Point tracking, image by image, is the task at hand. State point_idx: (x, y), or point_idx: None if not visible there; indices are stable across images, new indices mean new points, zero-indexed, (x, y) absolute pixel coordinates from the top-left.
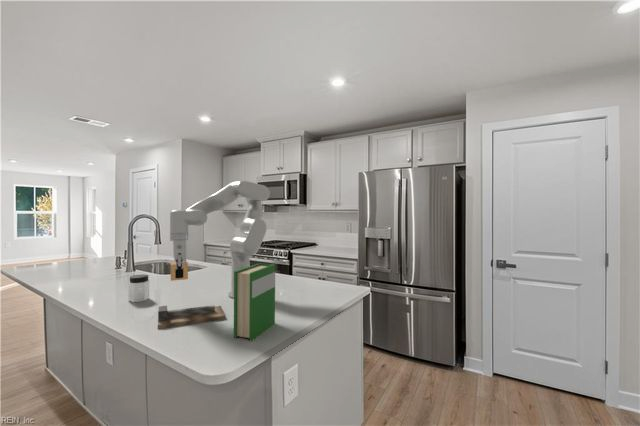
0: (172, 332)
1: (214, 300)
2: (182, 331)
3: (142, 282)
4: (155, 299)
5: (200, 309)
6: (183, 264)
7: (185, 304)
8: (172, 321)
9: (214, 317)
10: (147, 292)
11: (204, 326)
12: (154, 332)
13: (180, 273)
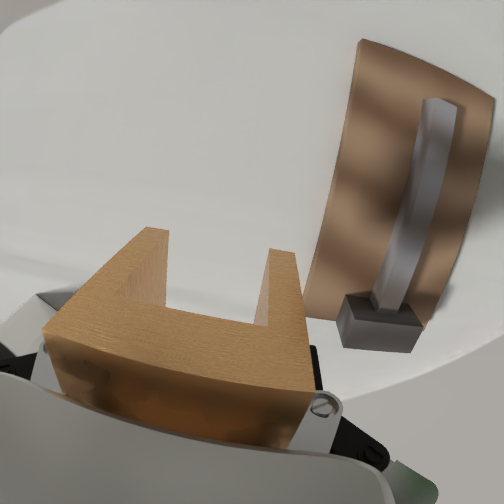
0: (473, 288)
1: (179, 28)
2: (487, 262)
3: None
4: (49, 278)
5: (440, 174)
6: (290, 432)
7: (167, 176)
8: (431, 288)
9: (487, 139)
10: (31, 316)
11: (499, 191)
12: (436, 331)
13: (314, 370)
